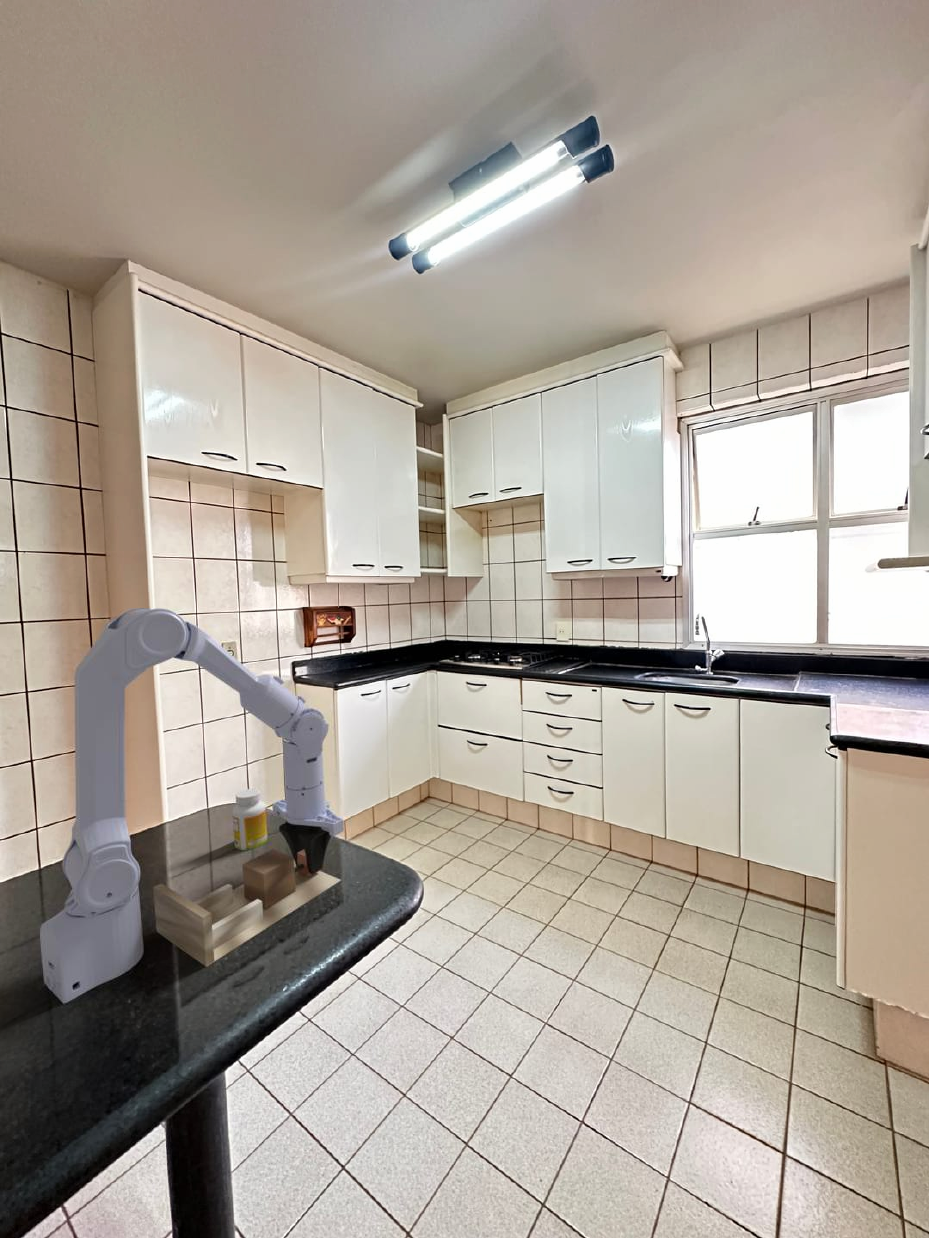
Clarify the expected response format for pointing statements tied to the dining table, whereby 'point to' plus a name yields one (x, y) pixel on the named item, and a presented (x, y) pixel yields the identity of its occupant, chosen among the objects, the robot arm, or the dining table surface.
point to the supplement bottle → (249, 820)
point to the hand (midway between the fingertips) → (309, 867)
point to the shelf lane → (226, 916)
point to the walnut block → (272, 876)
